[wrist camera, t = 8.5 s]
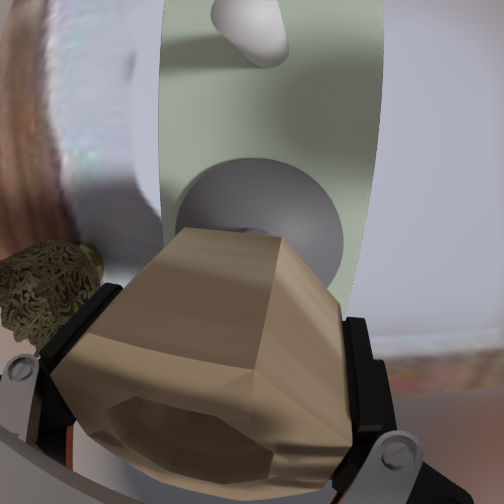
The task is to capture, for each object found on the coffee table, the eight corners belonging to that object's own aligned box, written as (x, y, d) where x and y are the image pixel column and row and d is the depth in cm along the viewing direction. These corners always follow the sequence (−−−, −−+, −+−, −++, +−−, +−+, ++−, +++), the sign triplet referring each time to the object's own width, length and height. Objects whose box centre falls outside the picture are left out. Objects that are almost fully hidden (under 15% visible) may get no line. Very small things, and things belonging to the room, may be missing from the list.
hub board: (176, -2, 12) (96, -53, 5) (376, 3, 11) (424, -64, 4) (177, 285, 20) (122, 368, 13) (341, 305, 19) (352, 406, 12)
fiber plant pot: (49, 264, 22) (-12, 315, 15) (66, 195, 19) (-16, 240, 12) (113, 316, 23) (61, 383, 16) (143, 254, 20) (74, 326, 13)
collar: (127, 222, 9) (18, 308, 5) (352, 244, 8) (389, 380, 4) (154, 371, 12) (107, 461, 8) (313, 398, 11) (306, 507, 7)
